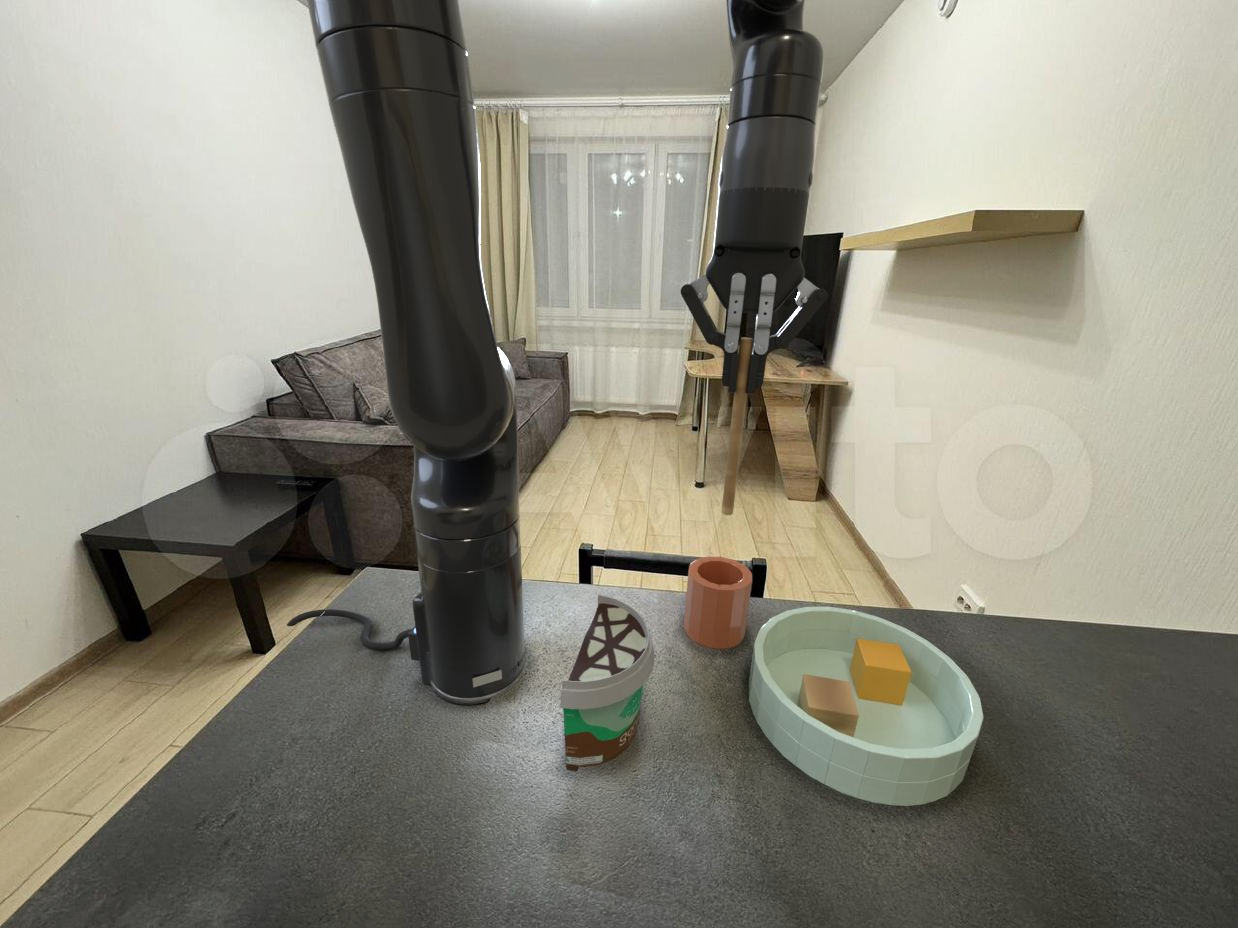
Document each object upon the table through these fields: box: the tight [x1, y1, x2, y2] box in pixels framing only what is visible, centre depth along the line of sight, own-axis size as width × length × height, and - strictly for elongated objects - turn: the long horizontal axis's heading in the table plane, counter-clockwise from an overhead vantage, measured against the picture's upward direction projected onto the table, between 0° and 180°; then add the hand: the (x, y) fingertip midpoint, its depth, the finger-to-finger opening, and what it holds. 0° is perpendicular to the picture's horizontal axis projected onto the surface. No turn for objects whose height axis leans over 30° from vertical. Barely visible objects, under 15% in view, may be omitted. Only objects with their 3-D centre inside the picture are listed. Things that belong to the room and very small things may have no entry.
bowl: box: [748, 606, 985, 807], centre depth 48 cm, size 19×19×6 cm
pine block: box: [797, 674, 859, 738], centre depth 46 cm, size 4×4×4 cm
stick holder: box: [683, 556, 753, 650], centre depth 58 cm, size 7×7×8 cm
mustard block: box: [850, 638, 912, 706], centre depth 51 cm, size 4×4×4 cm
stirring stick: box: [720, 337, 754, 516], centre depth 52 cm, size 1×1×18 cm
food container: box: [559, 594, 656, 772], centre depth 45 cm, size 12×6×10 cm, turn 168°
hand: (740, 391), depth 50 cm, fingers closed on stirring stick, 1 cm apart
